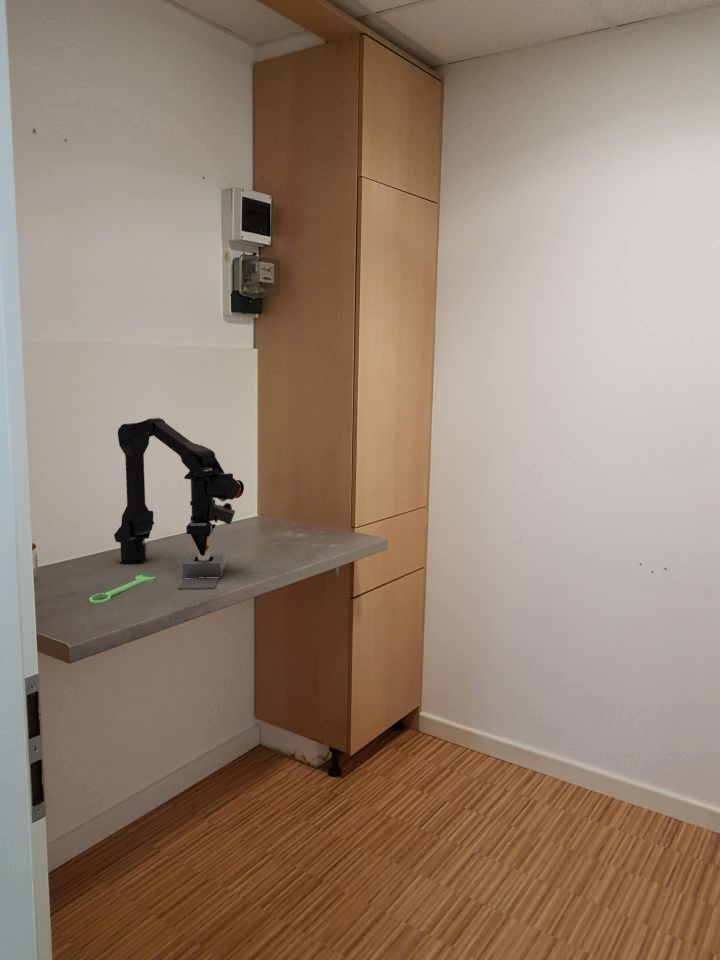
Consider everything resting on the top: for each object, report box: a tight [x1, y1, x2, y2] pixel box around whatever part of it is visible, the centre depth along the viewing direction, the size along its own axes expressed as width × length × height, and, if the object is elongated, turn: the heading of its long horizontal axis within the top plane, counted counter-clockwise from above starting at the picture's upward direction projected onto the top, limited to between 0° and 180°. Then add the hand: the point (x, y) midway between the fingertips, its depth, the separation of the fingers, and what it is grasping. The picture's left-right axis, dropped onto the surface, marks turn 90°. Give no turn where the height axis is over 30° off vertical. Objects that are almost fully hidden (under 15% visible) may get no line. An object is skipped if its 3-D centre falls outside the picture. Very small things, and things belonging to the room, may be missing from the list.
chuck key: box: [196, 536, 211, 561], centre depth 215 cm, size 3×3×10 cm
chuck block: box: [181, 553, 226, 579], centre depth 215 cm, size 10×10×4 cm
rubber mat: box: [178, 578, 219, 590], centre depth 204 cm, size 9×9×1 cm
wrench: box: [88, 574, 157, 605], centre depth 200 cm, size 25×2×5 cm
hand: (203, 553), depth 214 cm, fingers closed on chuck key, 3 cm apart
